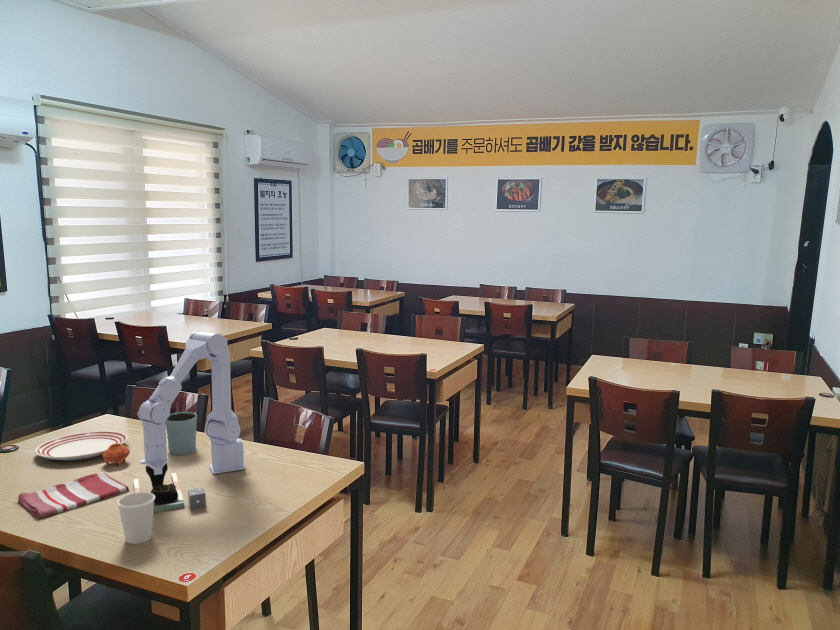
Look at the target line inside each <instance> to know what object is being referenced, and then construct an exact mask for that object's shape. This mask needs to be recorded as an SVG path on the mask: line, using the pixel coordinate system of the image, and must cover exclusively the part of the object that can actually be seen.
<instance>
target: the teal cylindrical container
mask: <svg viewBox="0 0 840 630" xmlns="http://www.w3.org/2000/svg"><path fill="white" fill-rule="evenodd" d="M197 424H198V414H197V413H195V412H190V411H181V412H174V413H170V415H169V417H168V418H167V420H166V421H165V425H166V439H167V445H168V447H167V451H168V453H169V454H170V455H173V456H183V455H188V454H191V453H194V452H195V451H196V450H197V448H196V447H197V443H196V442H197Z"/></svg>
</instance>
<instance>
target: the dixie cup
mask: <svg viewBox="0 0 840 630" xmlns="http://www.w3.org/2000/svg"><path fill="white" fill-rule="evenodd" d="M154 500H155V495H154V494H152V493H151V492H148V491H147V492H146V491H142V492H141V491H140V492H137V493H135V492H132V493H128V494H126V495H123V496H121V497H120V498H119V499H118V500H117V501H116V504H117V506H118V510H119V515H120V519H121V525H122V528H123V533H124V538H125V543H126V544H129V543H131V544H130V545H138V543H139V544H142V542H143V543H145V542H147V541H149V540H151V539H152V533H153V532H152V530H153V517H154V513H153V508H154V506H155V503H154Z"/></svg>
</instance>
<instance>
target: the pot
mask: <svg viewBox="0 0 840 630" xmlns="http://www.w3.org/2000/svg"><path fill="white" fill-rule="evenodd" d="M130 453H131V450H130V449H129V448H128V447H127V446H125V445H124V444H112V445H110V446H109V448H108V449H107V450H106V451H105V452H104V453H103V455H102V459H104V461H105V464H107V465H109V464H110V463H114V464H115V463H117V464H118V466H119V467H120V466H121V465H122V462H123V461H125V460H126V458H128V457H129V455H130Z"/></svg>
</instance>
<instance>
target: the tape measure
mask: <svg viewBox="0 0 840 630" xmlns="http://www.w3.org/2000/svg"><path fill="white" fill-rule="evenodd" d="M150 493H152V494H154V495H155V500H154V504H160V505H164V504H169V503H171V502H175V501H178V500H177V499H178V492H177V490H176V486H175V485H174V484H173V482H172V483H169V484H164V483H163V485H158V486H156V487H154V488H153V487H152V488H151V490H150Z"/></svg>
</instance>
